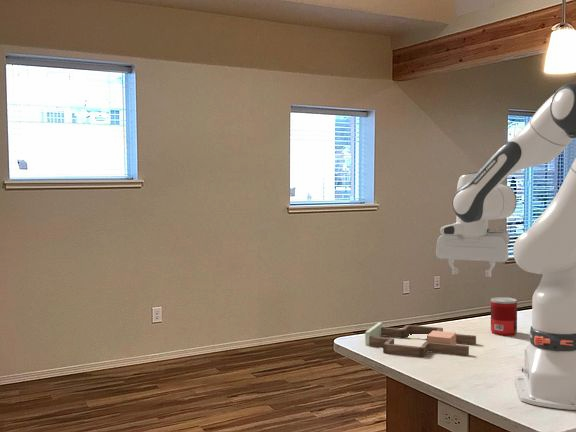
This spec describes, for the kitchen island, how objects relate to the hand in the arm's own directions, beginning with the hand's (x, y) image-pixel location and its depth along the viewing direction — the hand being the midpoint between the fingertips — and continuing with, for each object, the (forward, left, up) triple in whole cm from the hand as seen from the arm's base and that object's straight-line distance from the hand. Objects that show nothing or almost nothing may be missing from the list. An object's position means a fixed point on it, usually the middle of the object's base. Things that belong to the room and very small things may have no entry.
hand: (471, 275), depth 182 cm
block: (0, +9, -22) cm, 24 cm away
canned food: (+23, -6, -22) cm, 32 cm away
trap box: (0, +15, -22) cm, 27 cm away
